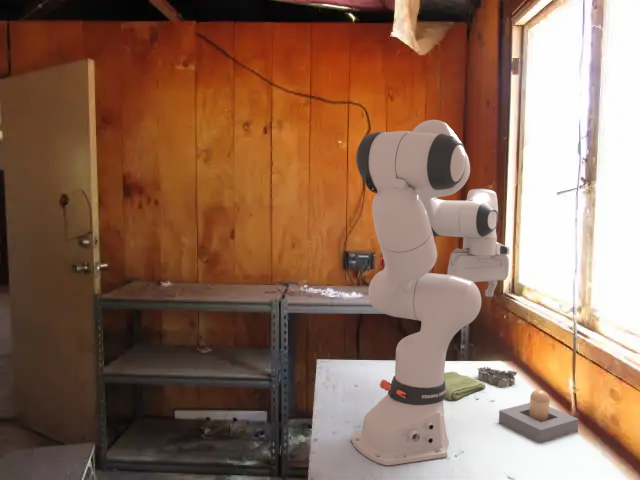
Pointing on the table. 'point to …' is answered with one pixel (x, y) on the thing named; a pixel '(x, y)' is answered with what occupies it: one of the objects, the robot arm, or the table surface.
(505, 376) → the egg carton
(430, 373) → the robot arm
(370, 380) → the table surface
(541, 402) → the peach dome-topped peg
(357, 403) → the table surface
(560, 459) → the table surface
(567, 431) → the grey square peg hole
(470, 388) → the washcloth
